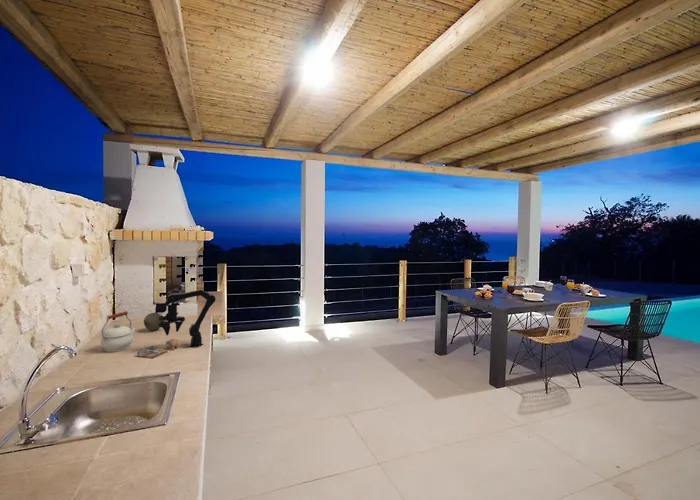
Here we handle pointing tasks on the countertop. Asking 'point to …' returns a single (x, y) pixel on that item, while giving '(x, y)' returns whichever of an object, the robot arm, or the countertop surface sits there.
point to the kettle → (117, 335)
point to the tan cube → (171, 344)
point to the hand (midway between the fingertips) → (172, 333)
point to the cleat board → (150, 352)
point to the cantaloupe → (152, 321)
